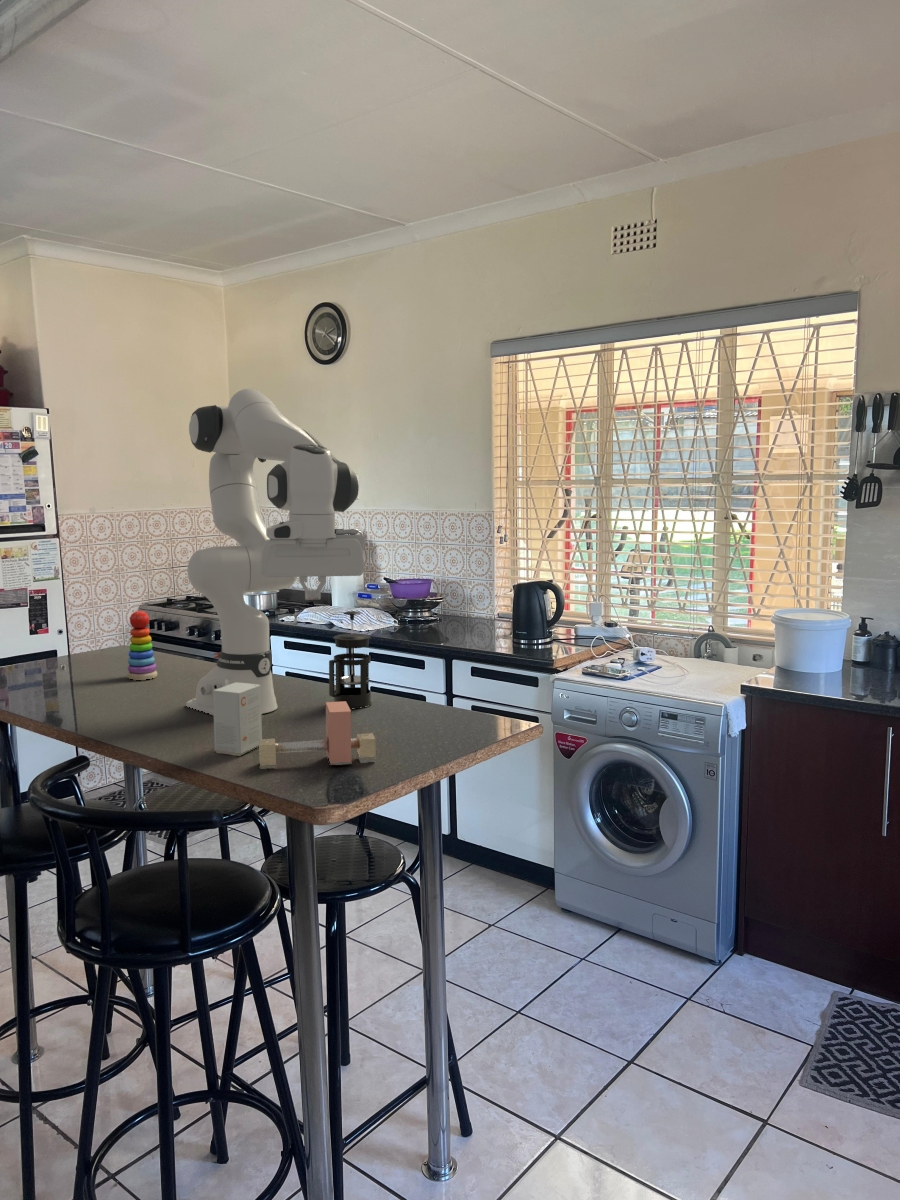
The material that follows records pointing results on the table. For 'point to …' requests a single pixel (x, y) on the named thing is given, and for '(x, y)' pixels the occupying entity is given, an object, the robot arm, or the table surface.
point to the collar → (338, 731)
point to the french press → (352, 695)
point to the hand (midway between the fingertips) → (312, 599)
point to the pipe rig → (312, 747)
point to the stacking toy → (141, 649)
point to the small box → (237, 717)
